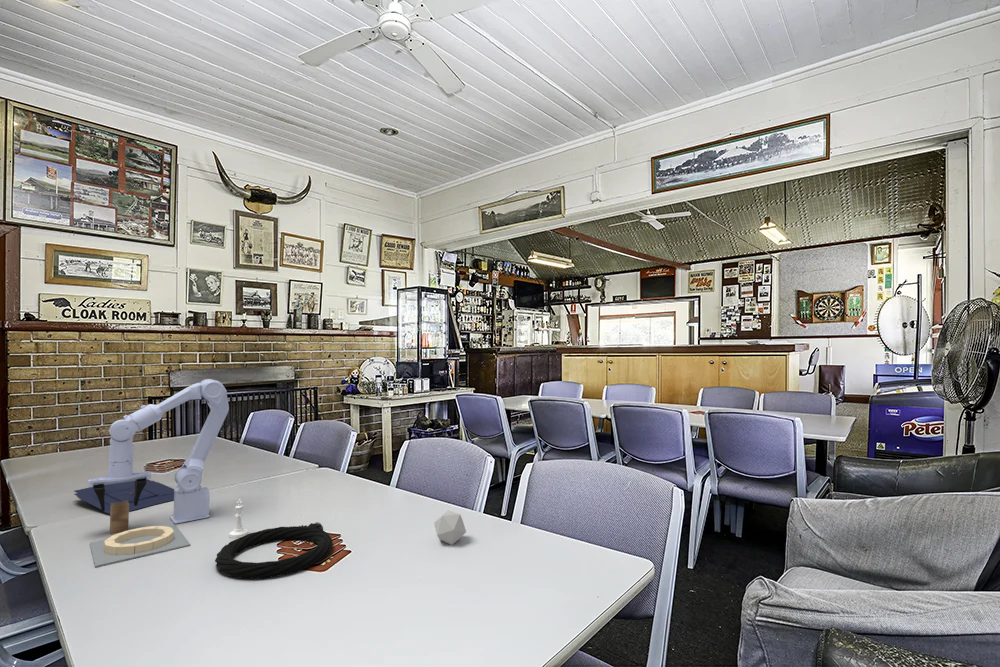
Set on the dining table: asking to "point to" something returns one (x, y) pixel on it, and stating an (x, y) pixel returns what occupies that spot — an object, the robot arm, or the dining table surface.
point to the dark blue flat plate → (128, 494)
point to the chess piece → (238, 523)
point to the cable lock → (274, 567)
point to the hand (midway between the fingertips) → (119, 507)
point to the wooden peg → (119, 517)
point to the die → (450, 527)
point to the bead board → (120, 558)
